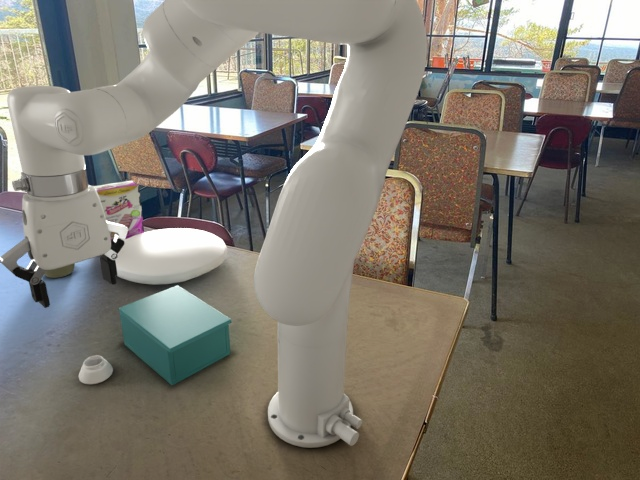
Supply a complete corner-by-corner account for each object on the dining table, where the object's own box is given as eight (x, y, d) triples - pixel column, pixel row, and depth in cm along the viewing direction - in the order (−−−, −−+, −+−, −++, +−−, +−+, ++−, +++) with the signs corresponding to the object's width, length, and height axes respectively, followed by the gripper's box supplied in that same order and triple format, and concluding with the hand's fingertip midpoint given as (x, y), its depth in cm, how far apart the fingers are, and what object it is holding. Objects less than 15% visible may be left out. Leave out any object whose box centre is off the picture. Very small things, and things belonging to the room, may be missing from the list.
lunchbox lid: (231, 322, 81) (231, 318, 81) (170, 353, 73) (169, 348, 73) (177, 288, 91) (177, 284, 91) (119, 311, 83) (118, 307, 83)
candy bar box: (103, 255, 119) (92, 191, 112) (96, 248, 122) (85, 186, 116) (147, 244, 126) (139, 183, 119) (140, 238, 129) (132, 179, 123)
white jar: (77, 372, 79) (82, 390, 75) (73, 357, 77) (79, 375, 74) (109, 362, 81) (116, 379, 77) (106, 348, 80) (113, 364, 76)
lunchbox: (230, 353, 84) (228, 321, 82) (171, 385, 76) (167, 350, 74) (181, 319, 94) (177, 288, 91) (124, 344, 86) (119, 312, 83)
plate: (148, 220, 128) (243, 230, 124) (149, 243, 130) (242, 254, 126) (78, 252, 102) (195, 267, 97) (81, 281, 104) (196, 297, 99)
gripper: (-7, 203, 57) (23, 325, 64) (131, 176, 69) (144, 281, 75) (-26, 188, 61) (4, 303, 68) (107, 165, 73) (121, 266, 80)
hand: (78, 292), depth 72 cm, fingers open, 9 cm apart
